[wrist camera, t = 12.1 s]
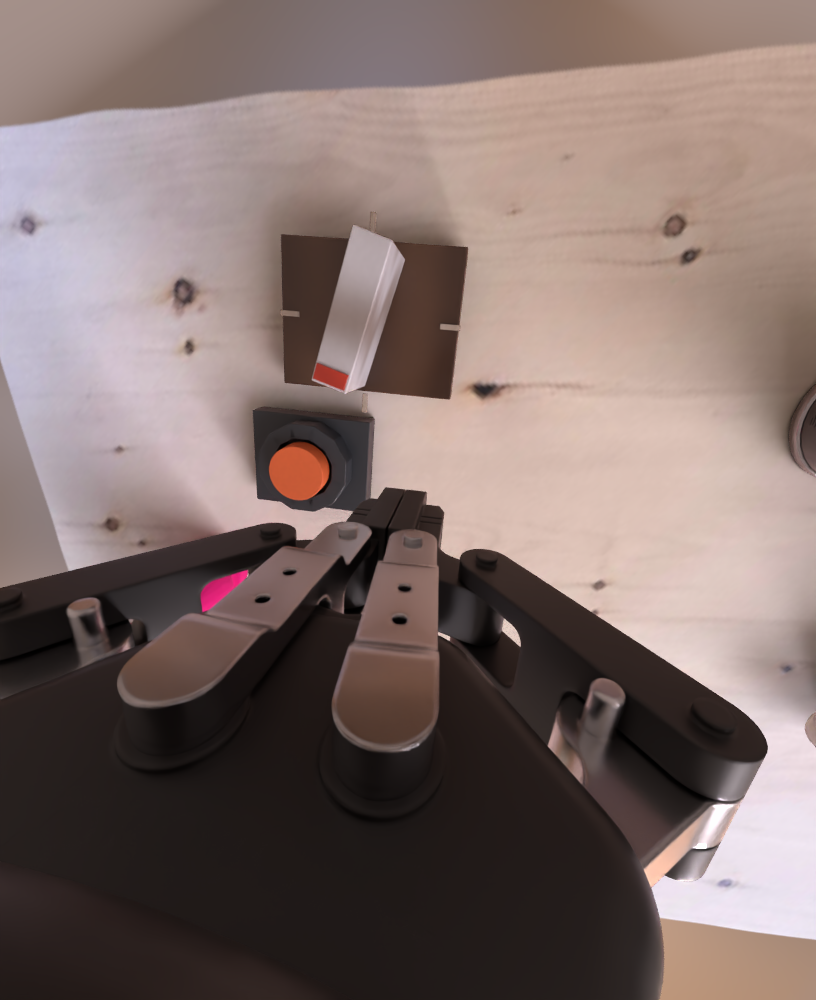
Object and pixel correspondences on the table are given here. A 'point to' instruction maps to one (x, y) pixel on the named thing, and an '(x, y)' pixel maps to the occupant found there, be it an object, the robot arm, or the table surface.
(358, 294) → the white bar red tip
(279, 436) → the grey base
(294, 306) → the block
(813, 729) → the teacup
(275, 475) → the button
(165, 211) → the table surface
